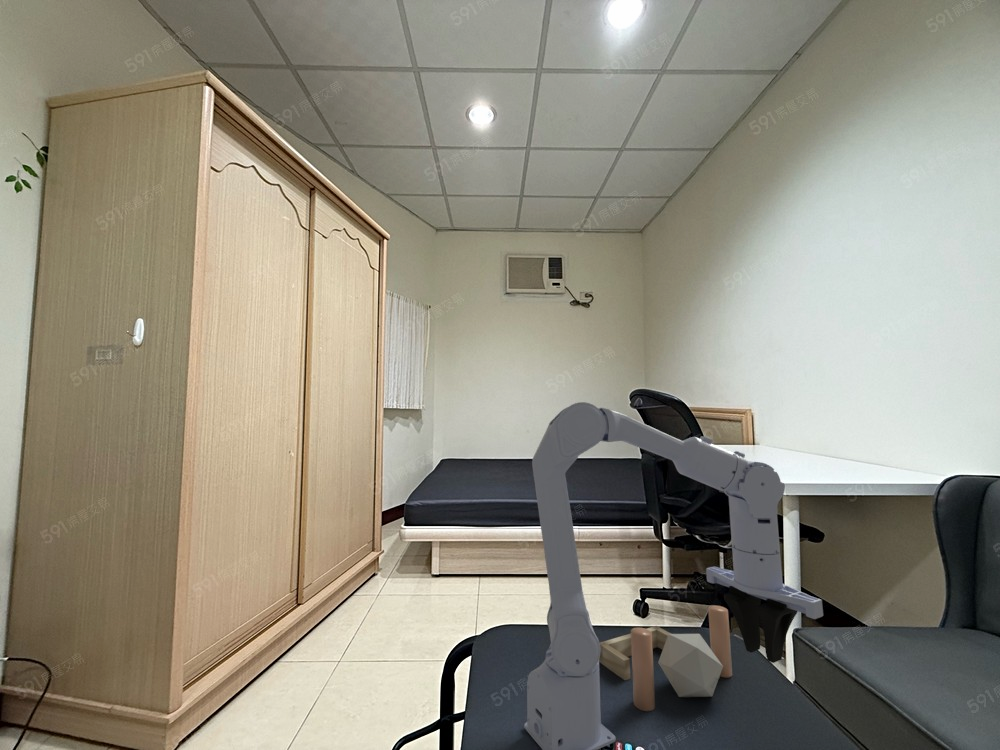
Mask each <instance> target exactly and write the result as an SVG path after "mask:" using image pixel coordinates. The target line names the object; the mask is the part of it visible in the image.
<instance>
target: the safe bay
mask: <svg viewBox="0 0 1000 750" xmlns="http://www.w3.org/2000/svg"><path fill="white" fill-rule="evenodd" d="M646 629H647V630H649V631H651V633H652V649H655V648H659V649H661V650H662V651H663V648H664V645H665V642H666V639H667V637H668V634H672V633H671V632H669V631H667V630H665V629H663V628H661V627H659V626H657V625H654V626H651V627H648V628H646ZM599 643H600V658H599V664H601V665H603V666H604V667H605V668H607V669H608V670H609V671H611V672H612V673H614V674H615V675H617V677H619V678H621V679H622V680H623V681H627V680H631V660H630V658H629V657H632V646H631V632H630V633H628V634H625V635H621V636H618V637H615V638H611V639H608V640H604V641H599Z"/></svg>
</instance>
